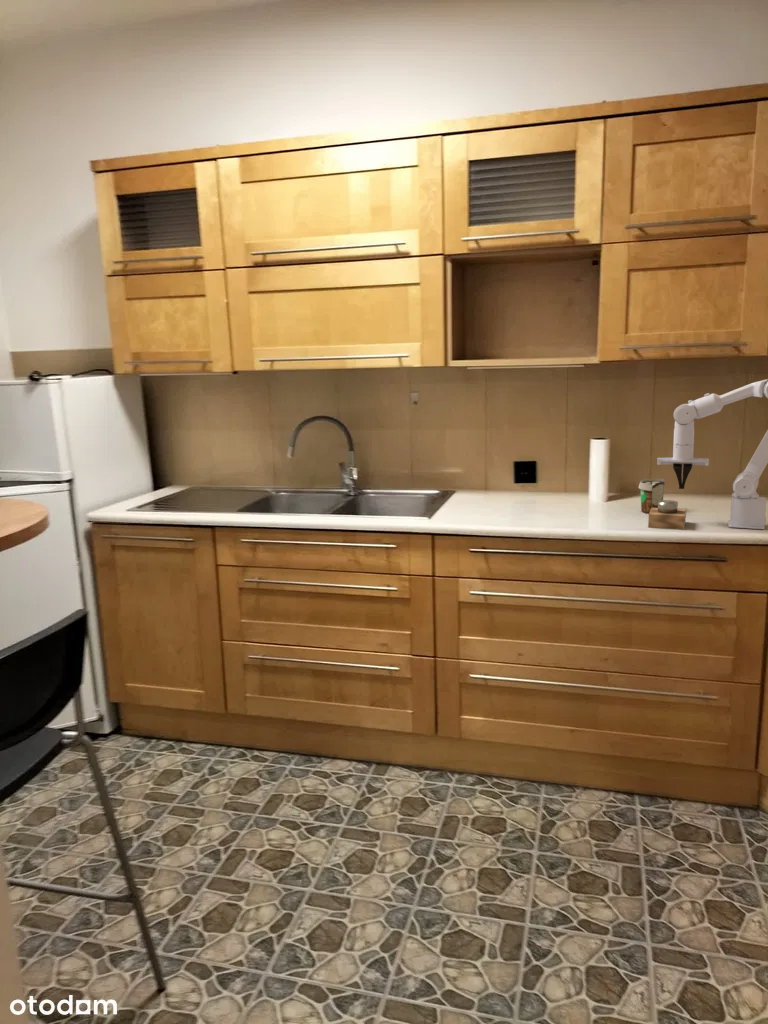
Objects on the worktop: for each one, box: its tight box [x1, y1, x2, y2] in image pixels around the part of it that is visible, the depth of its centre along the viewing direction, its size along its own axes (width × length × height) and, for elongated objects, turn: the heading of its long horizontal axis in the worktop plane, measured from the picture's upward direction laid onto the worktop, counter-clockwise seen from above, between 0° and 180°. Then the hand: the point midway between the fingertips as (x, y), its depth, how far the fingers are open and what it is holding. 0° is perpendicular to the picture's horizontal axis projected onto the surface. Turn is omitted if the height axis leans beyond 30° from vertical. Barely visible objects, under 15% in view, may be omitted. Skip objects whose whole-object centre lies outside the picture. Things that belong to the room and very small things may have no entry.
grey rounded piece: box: [658, 499, 679, 514], centre depth 225 cm, size 6×6×6 cm
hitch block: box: [647, 508, 687, 530], centre depth 225 cm, size 10×10×4 cm
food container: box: [638, 478, 666, 515], centre depth 244 cm, size 12×6×10 cm, turn 141°
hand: (681, 488), depth 227 cm, fingers closed
